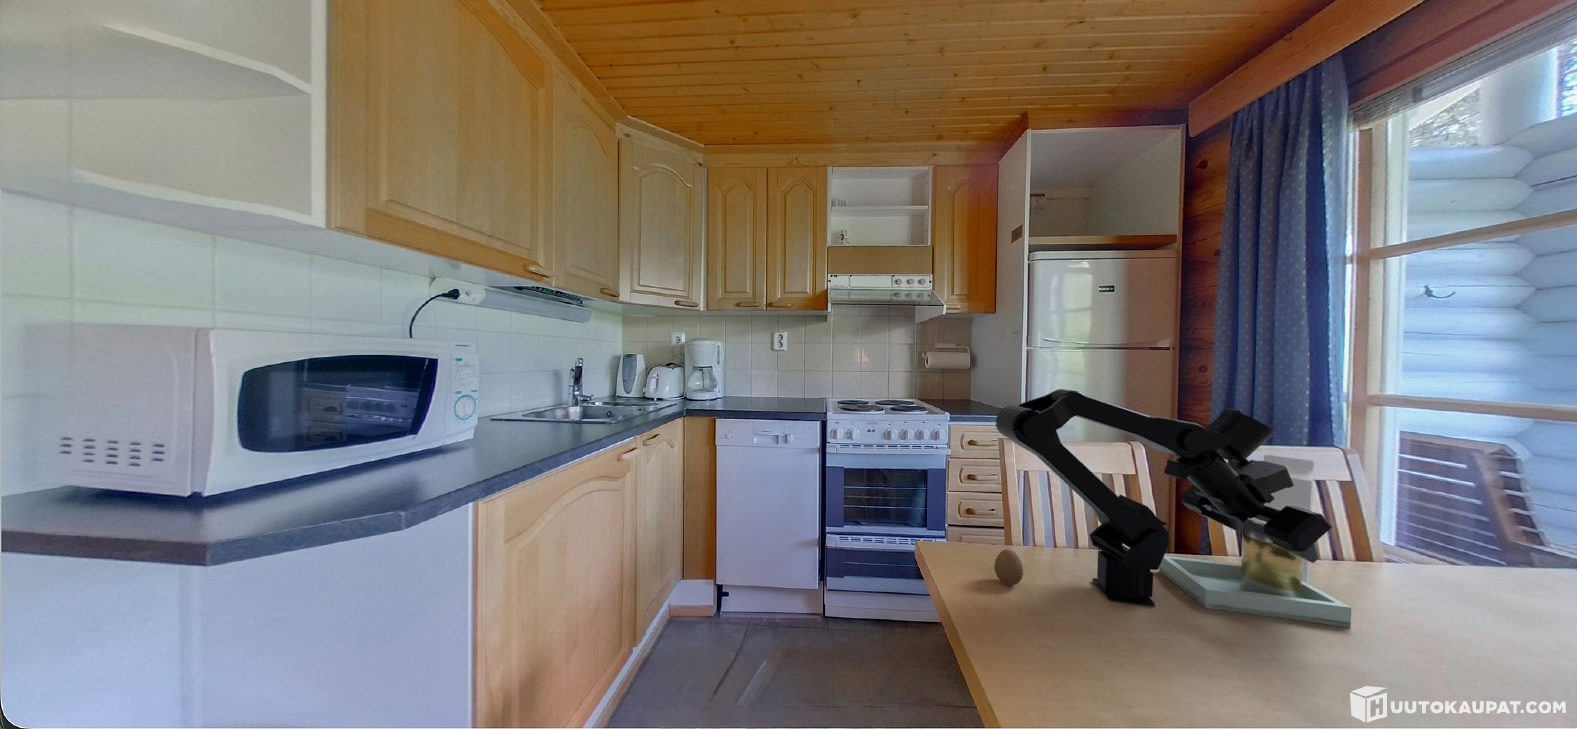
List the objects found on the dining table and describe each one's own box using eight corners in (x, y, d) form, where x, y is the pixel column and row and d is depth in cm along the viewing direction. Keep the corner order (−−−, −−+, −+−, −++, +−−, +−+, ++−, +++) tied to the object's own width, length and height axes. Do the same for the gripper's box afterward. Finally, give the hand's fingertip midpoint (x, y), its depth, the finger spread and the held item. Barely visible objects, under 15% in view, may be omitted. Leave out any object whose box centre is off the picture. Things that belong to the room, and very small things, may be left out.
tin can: (1284, 608, 66) (1287, 533, 66) (1230, 586, 73) (1232, 517, 73) (1311, 603, 68) (1315, 529, 68) (1256, 581, 75) (1259, 514, 74)
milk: (1307, 587, 75) (1313, 463, 74) (1256, 572, 79) (1261, 456, 79) (1309, 576, 78) (1315, 458, 78) (1260, 563, 83) (1265, 452, 82)
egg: (994, 587, 72) (995, 552, 72) (993, 575, 77) (994, 542, 76) (1024, 593, 71) (1025, 558, 71) (1021, 580, 75) (1022, 547, 75)
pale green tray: (1205, 607, 68) (1205, 589, 68) (1159, 570, 79) (1160, 555, 79) (1350, 627, 63) (1351, 607, 63) (1279, 585, 75) (1280, 568, 75)
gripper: (1321, 459, 61) (1398, 538, 61) (1199, 435, 79) (1258, 495, 79) (1261, 512, 61) (1337, 590, 61) (1154, 475, 80) (1212, 535, 80)
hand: (1281, 546), depth 70 cm, fingers open, 9 cm apart
